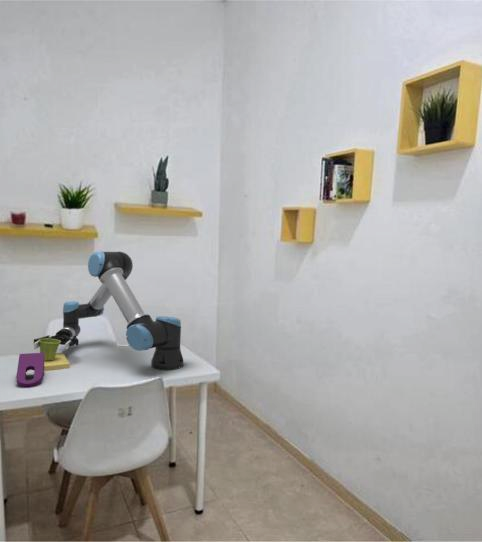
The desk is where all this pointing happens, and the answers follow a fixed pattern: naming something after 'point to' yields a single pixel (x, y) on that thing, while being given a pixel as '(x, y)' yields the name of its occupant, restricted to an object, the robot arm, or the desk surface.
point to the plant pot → (49, 348)
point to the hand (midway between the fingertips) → (50, 346)
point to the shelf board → (56, 363)
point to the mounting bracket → (30, 363)
